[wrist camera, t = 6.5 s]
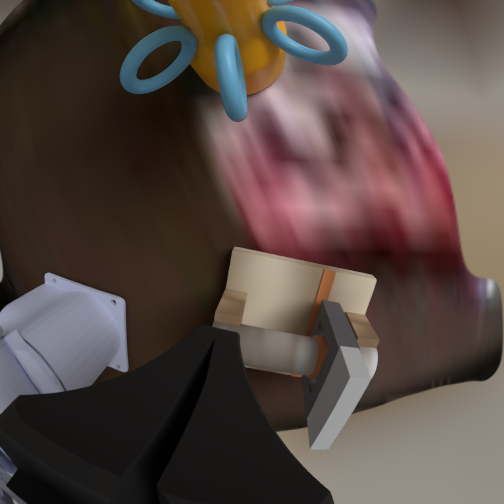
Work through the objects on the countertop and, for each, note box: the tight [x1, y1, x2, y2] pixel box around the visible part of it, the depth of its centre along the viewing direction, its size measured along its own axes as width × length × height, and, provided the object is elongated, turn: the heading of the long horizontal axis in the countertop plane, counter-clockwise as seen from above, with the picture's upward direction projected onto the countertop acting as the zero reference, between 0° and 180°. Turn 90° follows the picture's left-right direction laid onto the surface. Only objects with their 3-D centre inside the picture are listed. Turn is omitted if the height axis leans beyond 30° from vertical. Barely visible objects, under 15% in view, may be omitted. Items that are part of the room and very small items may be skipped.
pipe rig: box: [212, 247, 379, 379], centre depth 17 cm, size 10×9×6 cm
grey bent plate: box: [302, 300, 371, 450], centre depth 14 cm, size 1×5×8 cm, turn 169°
